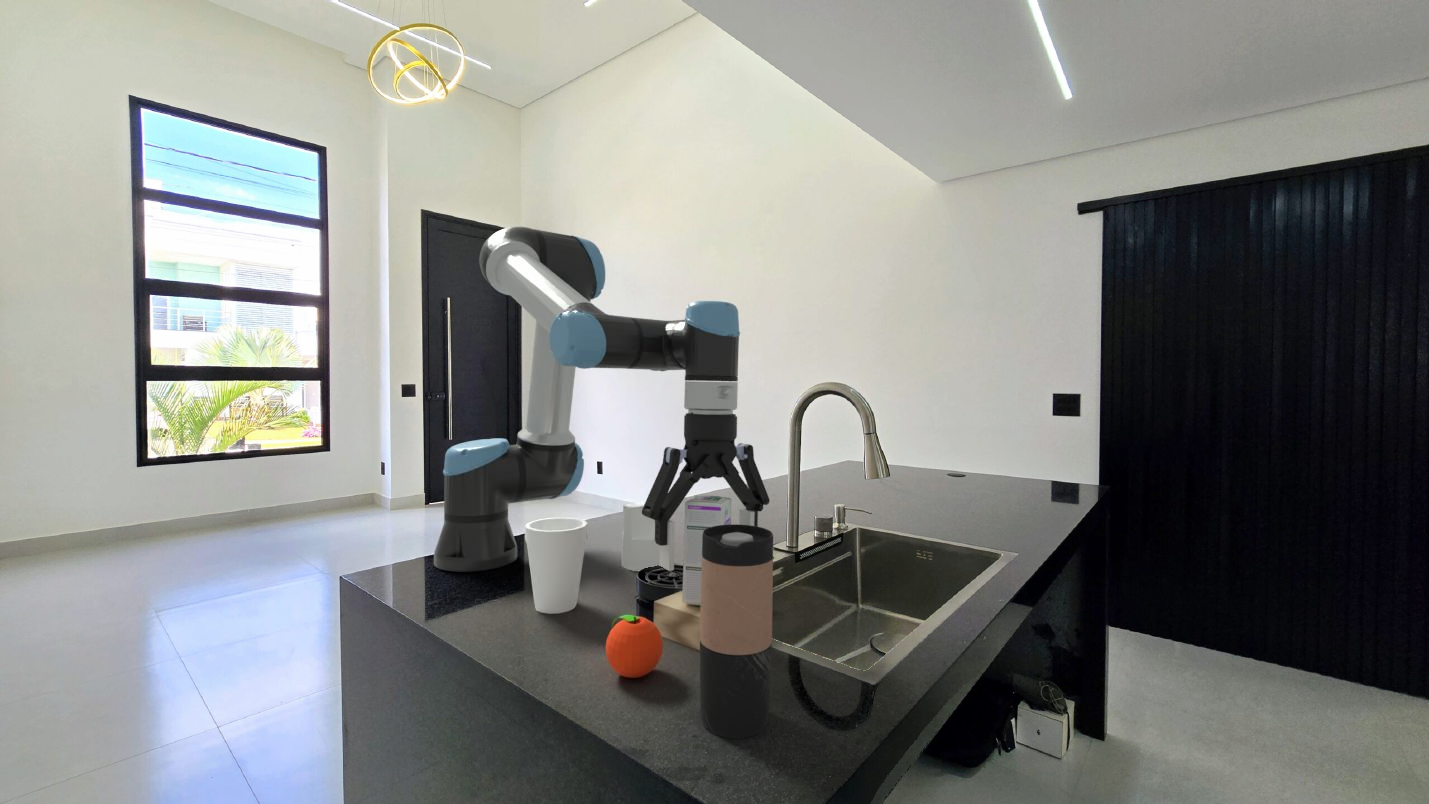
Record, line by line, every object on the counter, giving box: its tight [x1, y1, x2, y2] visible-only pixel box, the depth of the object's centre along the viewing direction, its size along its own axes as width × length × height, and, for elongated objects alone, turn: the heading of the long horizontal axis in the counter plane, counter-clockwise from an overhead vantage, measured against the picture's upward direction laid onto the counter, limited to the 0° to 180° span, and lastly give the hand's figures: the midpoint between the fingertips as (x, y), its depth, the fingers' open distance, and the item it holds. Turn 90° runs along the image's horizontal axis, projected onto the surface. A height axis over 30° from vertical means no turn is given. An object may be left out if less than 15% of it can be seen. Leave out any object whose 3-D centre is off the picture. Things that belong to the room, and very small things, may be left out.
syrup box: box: [681, 495, 732, 605], centre depth 87 cm, size 6×6×14 cm
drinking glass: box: [621, 501, 660, 570], centre depth 118 cm, size 9×9×12 cm
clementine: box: [605, 614, 664, 679], centre depth 74 cm, size 8×7×7 cm
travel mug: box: [699, 523, 774, 739], centre depth 64 cm, size 8×8×20 cm
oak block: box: [653, 590, 701, 652], centre depth 87 cm, size 11×11×5 cm
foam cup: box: [524, 517, 589, 615], centre depth 95 cm, size 10×9×13 cm
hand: (708, 560), depth 87 cm, fingers open, 13 cm apart
